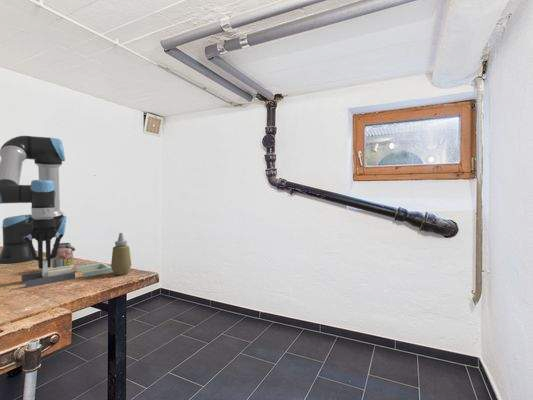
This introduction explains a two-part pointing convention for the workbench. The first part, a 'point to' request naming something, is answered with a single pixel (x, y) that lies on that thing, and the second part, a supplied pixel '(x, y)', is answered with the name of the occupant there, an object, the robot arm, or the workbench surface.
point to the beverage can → (63, 256)
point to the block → (59, 270)
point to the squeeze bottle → (121, 257)
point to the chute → (44, 278)
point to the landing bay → (94, 272)
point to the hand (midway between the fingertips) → (44, 275)
